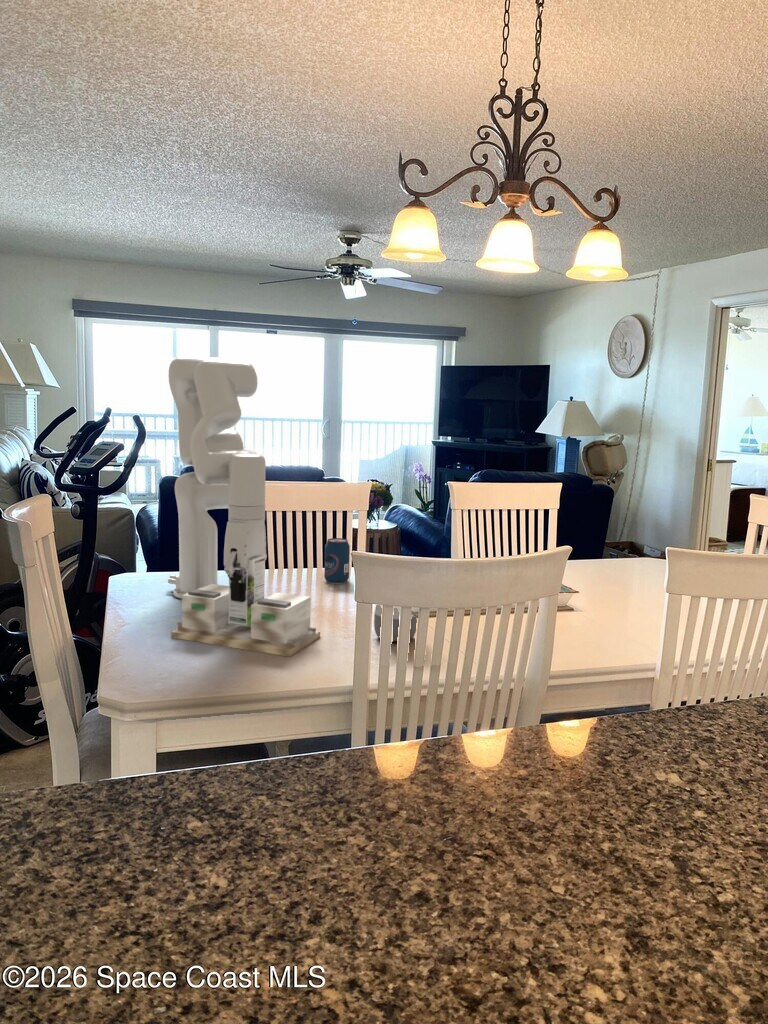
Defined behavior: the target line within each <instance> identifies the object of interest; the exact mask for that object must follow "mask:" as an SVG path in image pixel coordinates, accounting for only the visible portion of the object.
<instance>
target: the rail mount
mask: <svg viewBox="0 0 768 1024" xmlns="http://www.w3.org/2000/svg"><path fill="white" fill-rule="evenodd" d="M311 598H312V597H311V596H307V595H298V594H293V593H292V594H291V593H285V592H278V591H277V592H275V593H273V594H272V595H271V594H270V595H268V596H266V597H264V598H263V599H261V600H259V601H257V602H256V603H254V604H252V605H251V627H249V626H244V625H237V624H229V622H228V617H229V585H223V584H217V585H216V584H210V585H207V586H205V587H202V588H199V589H194V590H191V591H189V592H188V593H186V594H184V595H182V599H181V621H177V624H176V625H177V629H175V630H172V631H171V632H170V634H171V635H170V638H174V639H177V640H178V639H179V640H185V641H192V642H198V643H203V644H209V645H210V644H211V645H216V646H221V647H227V648H234V649H240V650H247V651H253V652H259V653H263V654H264V653H265V654H270V655H277V656H284V657H293V655H295V654H297V653H298V652H299V651H301V650H303V649H304V648H306V647H308V645H310V644H311V643H313V642H314V641H316V640H318V639H319V638H320V637H321V631H320V630H317V628H316V627H313V626H311V606H312V605H311V600H312V599H311Z"/></svg>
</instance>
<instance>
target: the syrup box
mask: <svg viewBox="0 0 768 1024" xmlns="http://www.w3.org/2000/svg"><path fill="white" fill-rule="evenodd" d="M265 563H266V560H265V555H260V556H256V557H254V558H251V559H250V560H249V566H248V568H247V569H246V570H245V577H244V582H243V583H246V590H245V601H244V602H238V601H232V600H231V582H230V581H229V580H228V586H229V617H228V622H229V624H237V625H244V626H249V627H251V605H252V604H254V603H256V602H257V601H259V600H261V599H263V598H265V578H266V577H265V572H266V571H265V569H266V566H265V565H266V564H265ZM236 567H239V568H240V565H236ZM236 572H237V573H238V575H239V576H240V571H236Z"/></svg>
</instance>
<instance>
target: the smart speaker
mask: <svg viewBox="0 0 768 1024" xmlns="http://www.w3.org/2000/svg"><path fill="white" fill-rule="evenodd" d="M381 614H382V608H381V606H380V605H376V604H375V609H374V617H373V619H374V620H373V628H374V632H375V634H376V636H377V638H379V636H380V627H381ZM416 623H417V624H418V618H417V619H416V617H415V616H412V619H411V629H410V640H412V639H413V638H414V637H415V634H416V633H417V629H416ZM398 627H399V612H398V609H397V608H394V615H393V644H394V643H395V644H397V637H398Z"/></svg>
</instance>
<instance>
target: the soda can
mask: <svg viewBox="0 0 768 1024" xmlns="http://www.w3.org/2000/svg"><path fill="white" fill-rule="evenodd" d="M348 541H349V540H348V539H346V538H341V537H339V538H338V537H335V538H334V537H332V538H328V539H327V541H326V544H324V579H325V581H326V583H328V584H332V585H341V584H346V583H347V582H348V580H349V579H350V555H351V553H350V550H351V549H350V548H351V546H350V544H349V542H348Z"/></svg>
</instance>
